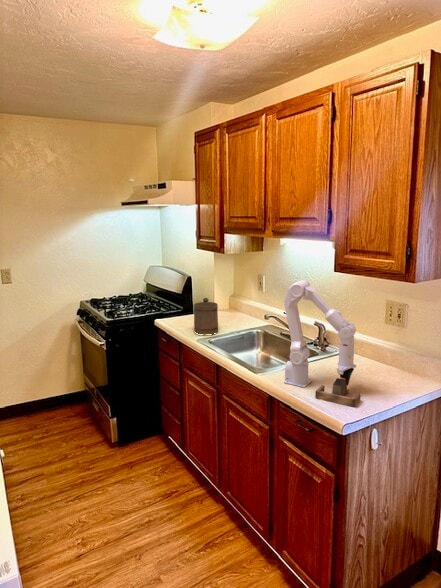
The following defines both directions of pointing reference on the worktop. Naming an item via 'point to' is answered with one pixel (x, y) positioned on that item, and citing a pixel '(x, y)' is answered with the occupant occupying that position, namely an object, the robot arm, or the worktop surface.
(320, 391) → the cradle
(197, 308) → the wooden container
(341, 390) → the electronic device
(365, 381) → the worktop surface
